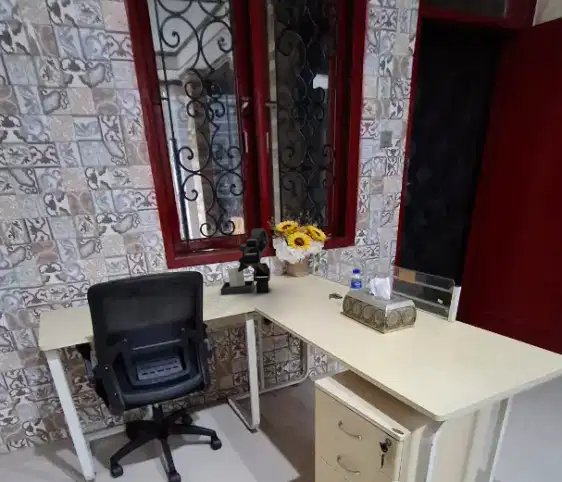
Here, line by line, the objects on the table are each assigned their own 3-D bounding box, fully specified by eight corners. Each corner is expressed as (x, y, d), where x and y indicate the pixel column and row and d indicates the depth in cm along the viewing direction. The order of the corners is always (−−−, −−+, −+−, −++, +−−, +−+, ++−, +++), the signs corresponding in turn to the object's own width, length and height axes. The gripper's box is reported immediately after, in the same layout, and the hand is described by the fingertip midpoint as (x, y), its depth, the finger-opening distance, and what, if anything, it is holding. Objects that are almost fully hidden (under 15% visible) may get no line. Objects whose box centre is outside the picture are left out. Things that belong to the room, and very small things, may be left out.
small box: (245, 285, 235) (243, 266, 233) (236, 286, 232) (234, 267, 230) (238, 286, 241) (235, 267, 239) (229, 287, 238) (227, 268, 236)
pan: (254, 285, 242) (253, 280, 241) (251, 292, 231) (251, 287, 229) (225, 287, 244) (224, 282, 242) (221, 294, 232) (220, 289, 231)
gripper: (254, 235, 232) (238, 254, 242) (239, 242, 217) (223, 263, 227) (268, 249, 233) (252, 268, 243) (254, 258, 218) (238, 278, 228)
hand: (241, 269), depth 235 cm, fingers open, 9 cm apart
